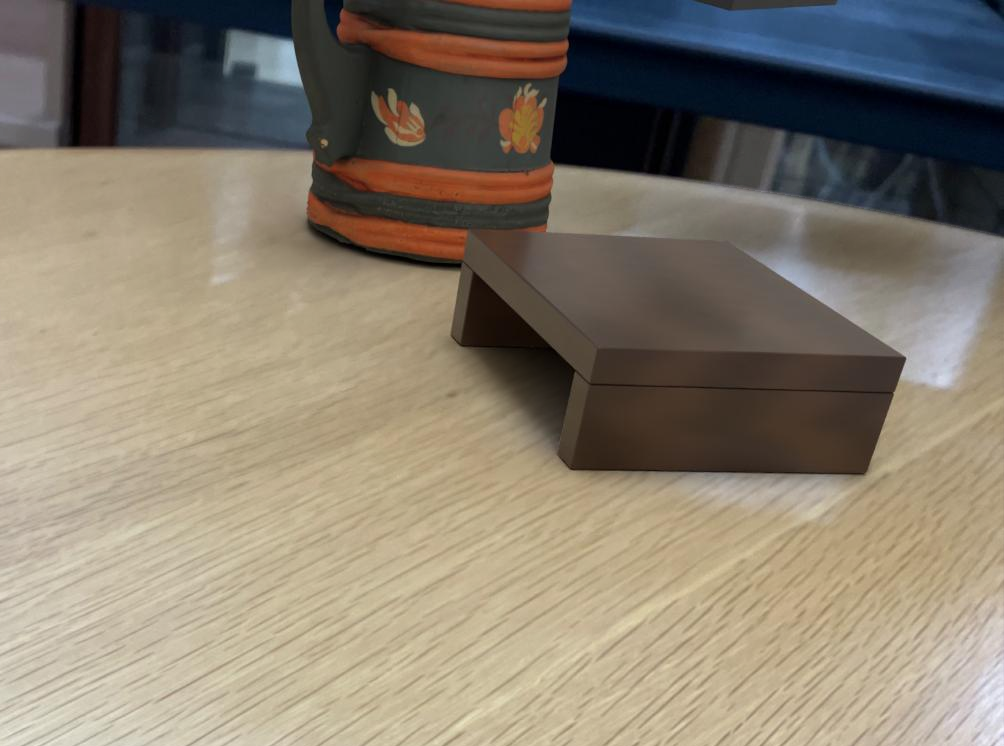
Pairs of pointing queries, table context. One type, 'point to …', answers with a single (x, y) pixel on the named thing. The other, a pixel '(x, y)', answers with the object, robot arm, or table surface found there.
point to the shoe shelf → (681, 352)
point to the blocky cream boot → (764, 4)
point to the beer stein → (430, 119)
